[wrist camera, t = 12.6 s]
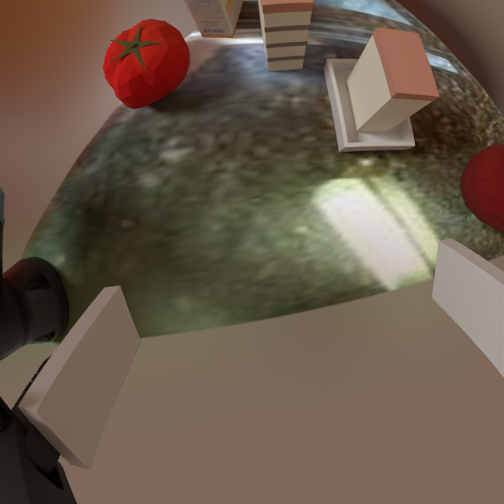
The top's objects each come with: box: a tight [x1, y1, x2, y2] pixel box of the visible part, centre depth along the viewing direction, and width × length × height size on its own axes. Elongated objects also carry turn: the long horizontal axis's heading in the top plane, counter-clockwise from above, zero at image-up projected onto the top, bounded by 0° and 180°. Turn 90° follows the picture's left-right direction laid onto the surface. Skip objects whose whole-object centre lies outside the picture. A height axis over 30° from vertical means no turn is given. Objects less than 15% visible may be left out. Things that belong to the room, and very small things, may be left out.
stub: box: [346, 28, 439, 132], centre depth 25 cm, size 4×7×14 cm, turn 7°
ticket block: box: [258, 0, 314, 72], centre depth 25 cm, size 5×7×15 cm, turn 7°
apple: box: [460, 144, 504, 231], centre depth 27 cm, size 11×11×12 cm
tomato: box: [103, 19, 189, 109], centre depth 29 cm, size 11×13×10 cm
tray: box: [323, 59, 415, 152], centre depth 31 cm, size 10×12×3 cm
